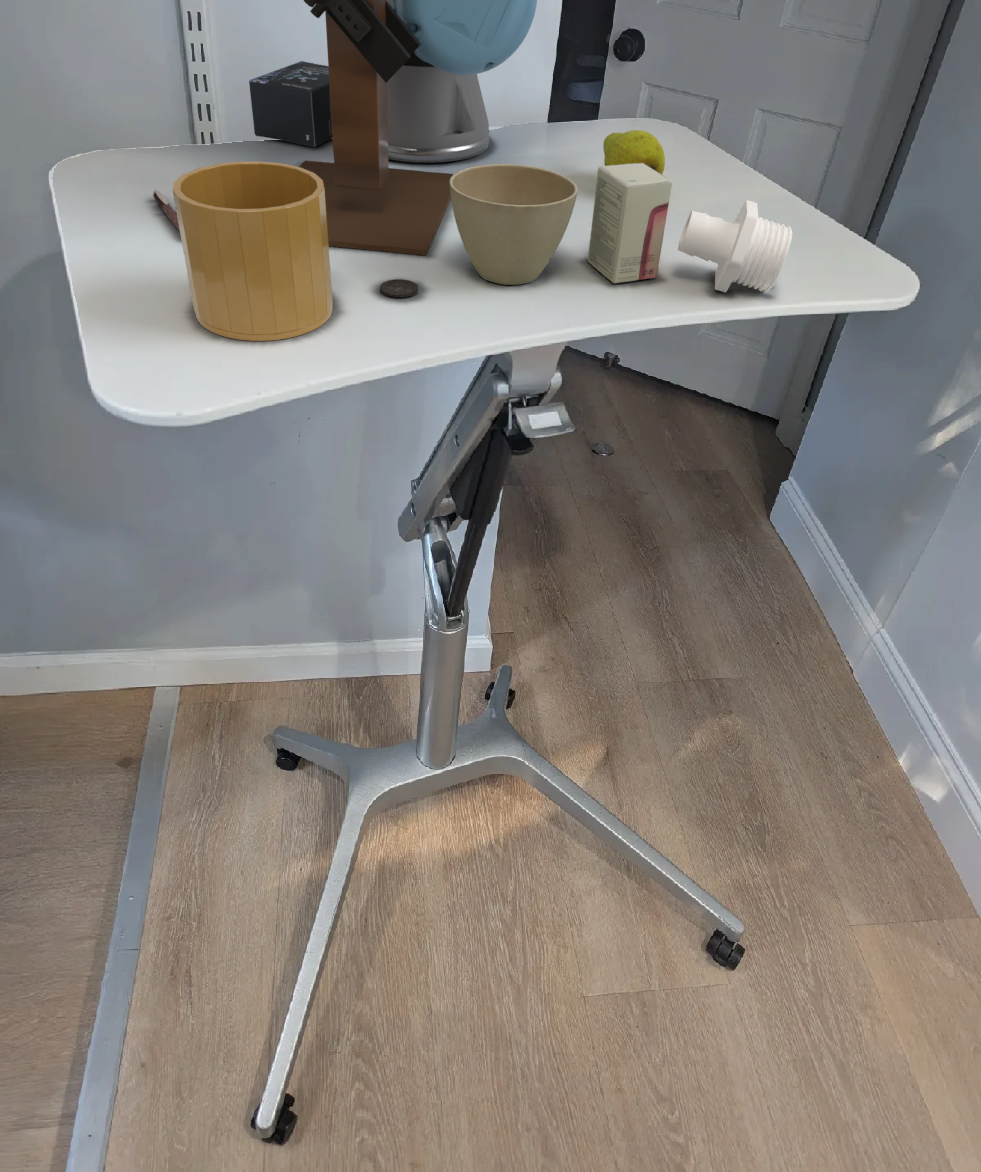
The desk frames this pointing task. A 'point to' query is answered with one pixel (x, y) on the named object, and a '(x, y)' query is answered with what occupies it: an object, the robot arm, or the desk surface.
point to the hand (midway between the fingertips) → (403, 62)
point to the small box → (628, 221)
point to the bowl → (511, 218)
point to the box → (293, 104)
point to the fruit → (634, 150)
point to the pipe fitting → (738, 247)
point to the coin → (399, 288)
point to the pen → (166, 207)
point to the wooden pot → (255, 249)
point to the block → (357, 111)
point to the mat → (385, 210)
